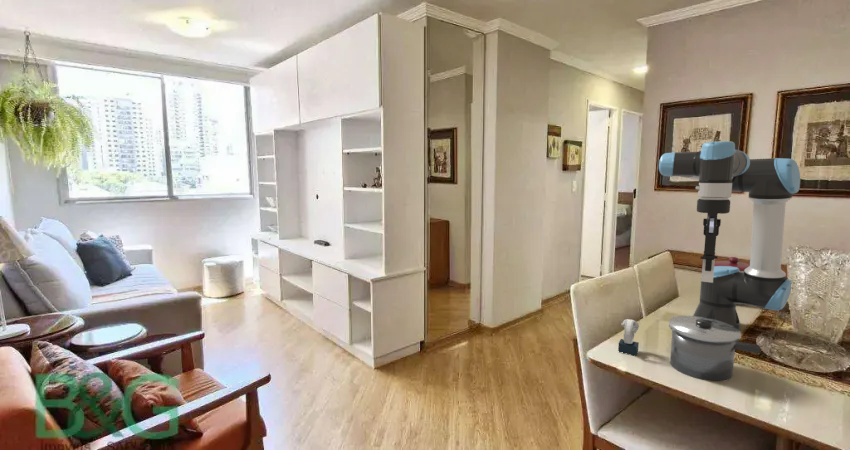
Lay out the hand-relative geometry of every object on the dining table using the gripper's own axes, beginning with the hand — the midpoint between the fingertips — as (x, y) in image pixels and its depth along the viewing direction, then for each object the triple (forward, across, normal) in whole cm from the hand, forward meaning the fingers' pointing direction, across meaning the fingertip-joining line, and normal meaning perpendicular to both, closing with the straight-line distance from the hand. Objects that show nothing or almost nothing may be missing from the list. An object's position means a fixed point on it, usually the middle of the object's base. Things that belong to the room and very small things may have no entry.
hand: (707, 281), depth 115 cm
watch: (+30, -8, -20) cm, 37 cm away
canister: (+30, -94, +9) cm, 99 cm away
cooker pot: (+29, -8, +3) cm, 31 cm away
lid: (+17, -8, 0) cm, 19 cm away
